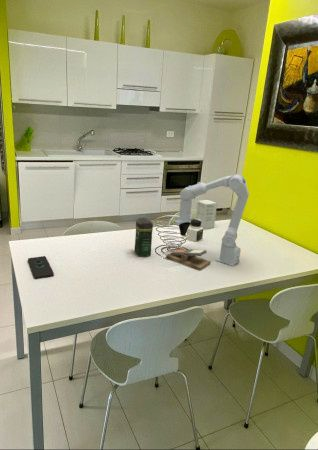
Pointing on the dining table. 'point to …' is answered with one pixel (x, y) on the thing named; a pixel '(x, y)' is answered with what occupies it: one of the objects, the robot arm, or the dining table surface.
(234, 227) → the robot arm
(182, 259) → the switch base
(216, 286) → the dining table surface
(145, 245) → the coffee jar
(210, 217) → the supplement box
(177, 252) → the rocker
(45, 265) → the smart home device
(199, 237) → the medicine bottle
